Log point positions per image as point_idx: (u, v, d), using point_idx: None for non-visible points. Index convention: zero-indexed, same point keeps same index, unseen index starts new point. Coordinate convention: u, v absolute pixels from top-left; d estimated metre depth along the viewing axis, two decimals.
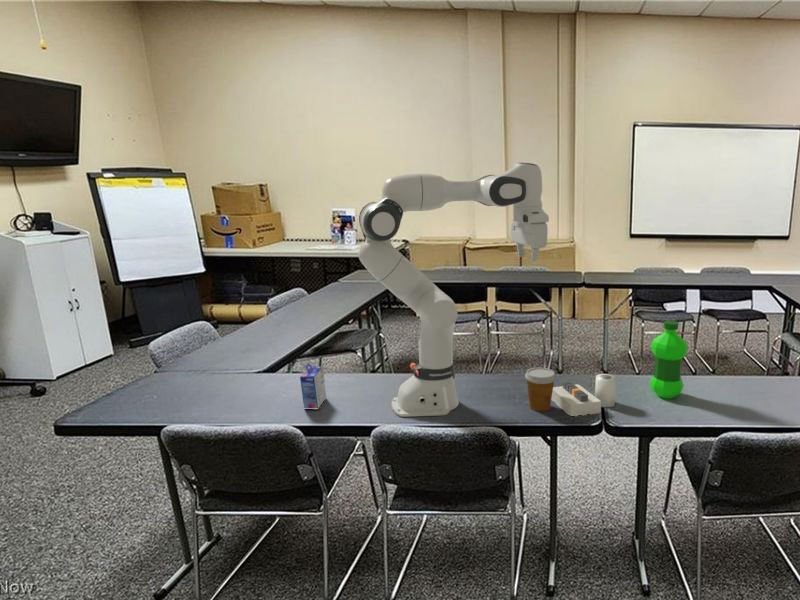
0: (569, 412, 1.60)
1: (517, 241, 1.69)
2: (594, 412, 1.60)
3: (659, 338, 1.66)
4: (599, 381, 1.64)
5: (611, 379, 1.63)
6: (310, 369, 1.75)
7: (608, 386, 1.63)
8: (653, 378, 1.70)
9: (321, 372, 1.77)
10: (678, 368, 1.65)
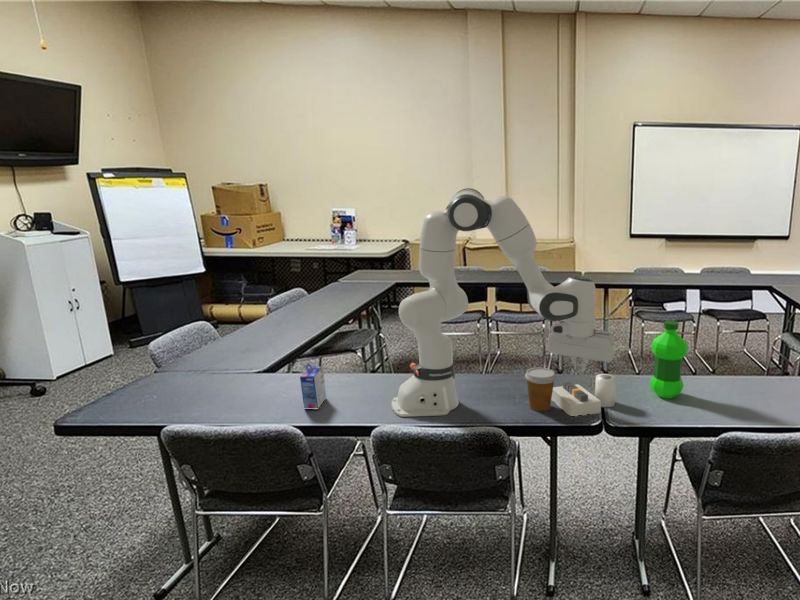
0: (569, 412, 1.60)
1: None
2: (594, 412, 1.60)
3: (659, 338, 1.66)
4: (599, 381, 1.64)
5: (611, 379, 1.63)
6: (310, 369, 1.75)
7: (608, 386, 1.63)
8: (653, 378, 1.70)
9: (321, 372, 1.77)
10: (678, 368, 1.65)
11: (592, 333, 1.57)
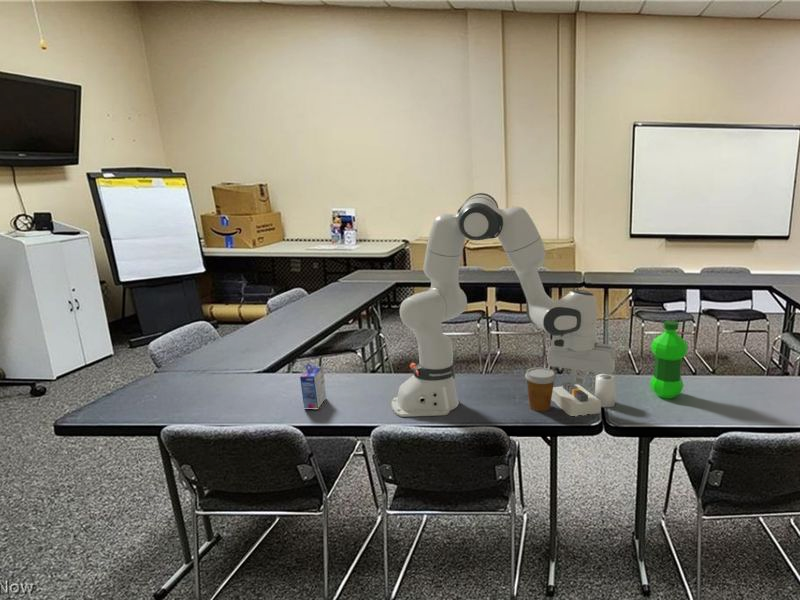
0: (569, 412, 1.60)
1: None
2: (594, 412, 1.60)
3: (659, 338, 1.66)
4: (599, 381, 1.64)
5: (611, 379, 1.63)
6: (310, 369, 1.75)
7: (608, 386, 1.63)
8: (653, 378, 1.70)
9: (321, 372, 1.77)
10: (678, 368, 1.65)
11: (593, 346, 1.58)
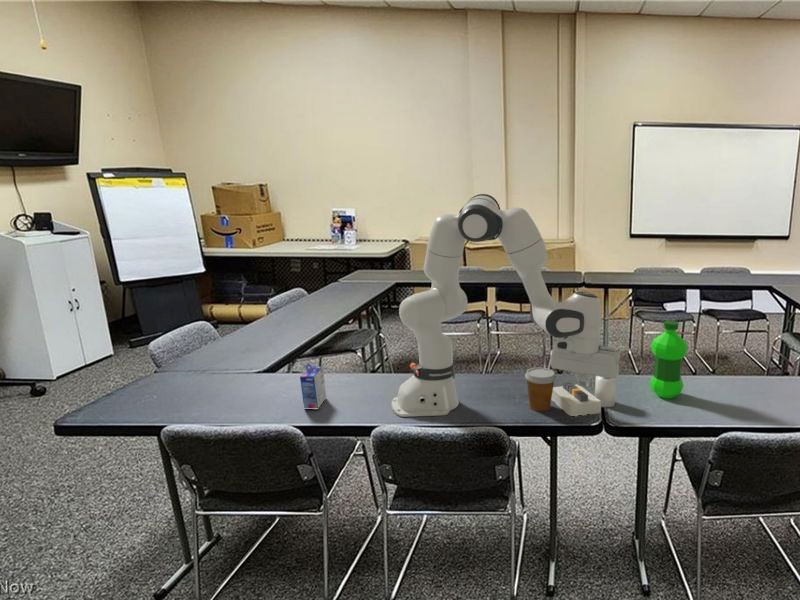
0: (569, 412, 1.60)
1: None
2: (594, 412, 1.60)
3: (659, 338, 1.66)
4: (599, 381, 1.64)
5: (611, 379, 1.63)
6: (310, 369, 1.75)
7: (608, 386, 1.63)
8: (653, 378, 1.70)
9: (321, 372, 1.77)
10: (678, 368, 1.65)
11: (597, 349, 1.56)
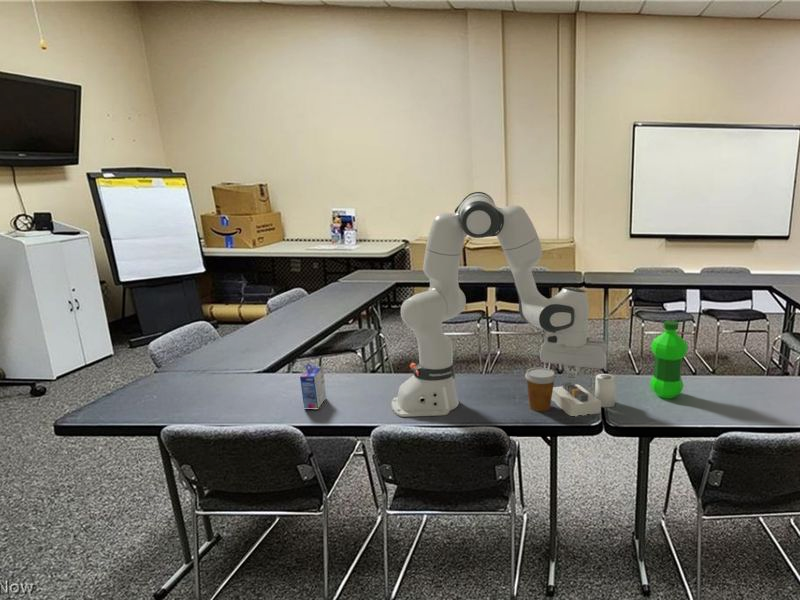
0: (569, 412, 1.60)
1: None
2: (594, 412, 1.60)
3: (659, 338, 1.66)
4: (599, 381, 1.64)
5: (611, 379, 1.63)
6: (310, 369, 1.75)
7: (608, 386, 1.63)
8: (653, 378, 1.70)
9: (321, 372, 1.77)
10: (678, 368, 1.65)
11: (586, 342, 1.63)
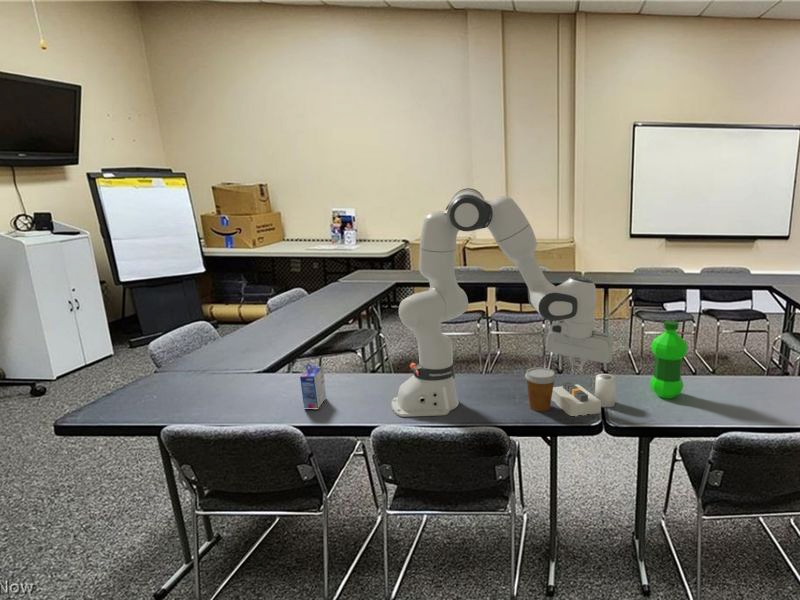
0: (569, 412, 1.60)
1: None
2: (594, 412, 1.60)
3: (659, 338, 1.66)
4: (599, 381, 1.64)
5: (611, 379, 1.63)
6: (310, 369, 1.75)
7: (608, 386, 1.63)
8: (653, 378, 1.70)
9: (321, 372, 1.77)
10: (678, 368, 1.65)
11: (590, 334, 1.58)
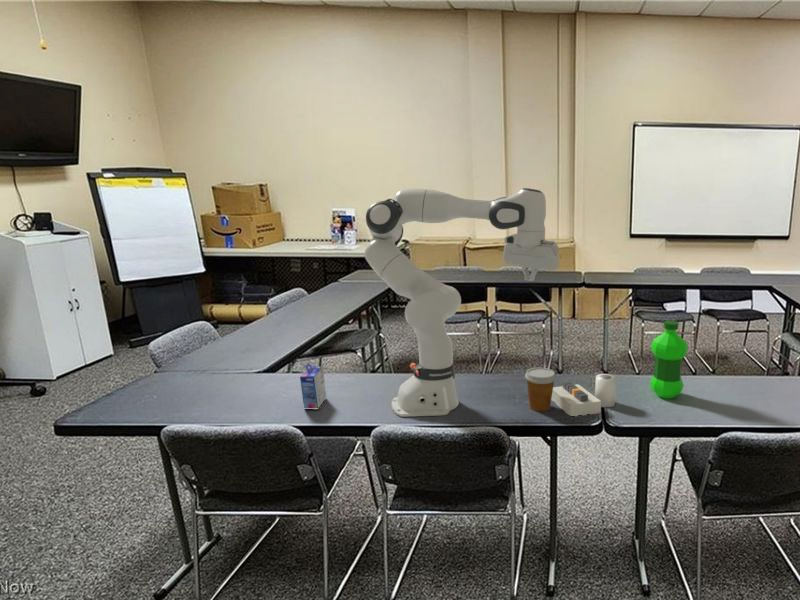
0: (569, 412, 1.60)
1: None
2: (594, 412, 1.60)
3: (659, 338, 1.66)
4: (599, 381, 1.64)
5: (611, 379, 1.63)
6: (310, 369, 1.75)
7: (608, 386, 1.63)
8: (653, 378, 1.70)
9: (321, 372, 1.77)
10: (678, 368, 1.65)
11: (539, 243, 1.65)
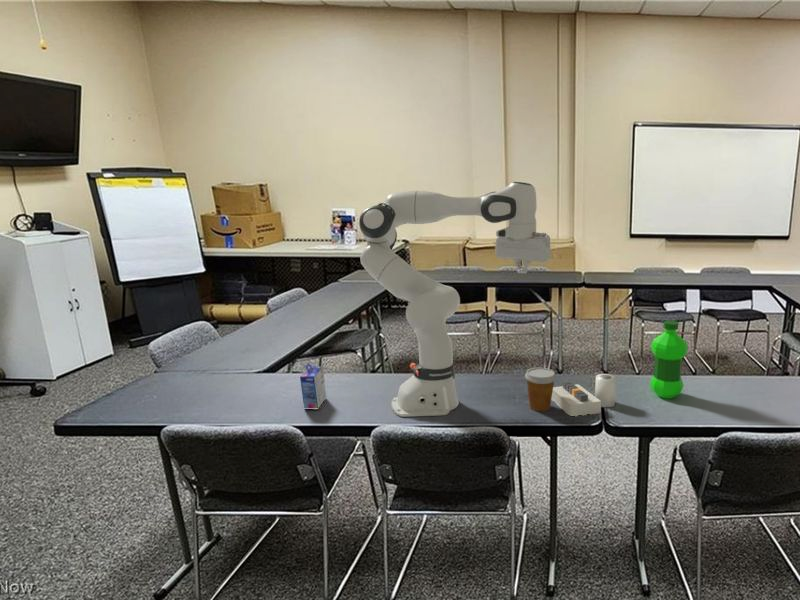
0: (569, 412, 1.60)
1: None
2: (594, 412, 1.60)
3: (659, 338, 1.66)
4: (599, 381, 1.64)
5: (611, 379, 1.63)
6: (310, 369, 1.75)
7: (608, 386, 1.63)
8: (653, 378, 1.70)
9: (321, 372, 1.77)
10: (678, 368, 1.65)
11: (530, 235, 1.67)
